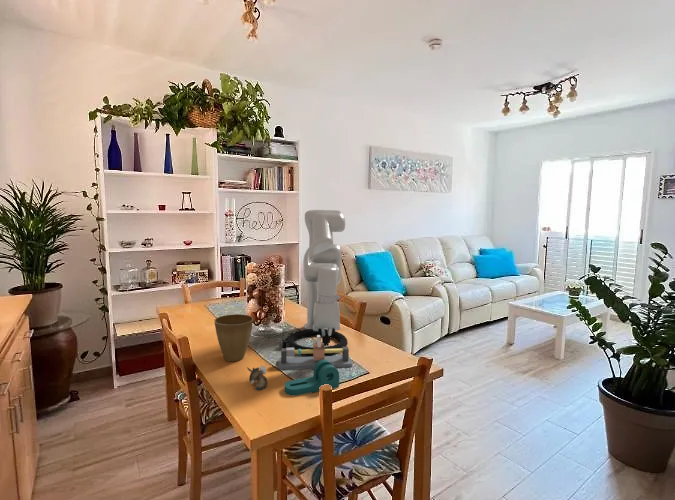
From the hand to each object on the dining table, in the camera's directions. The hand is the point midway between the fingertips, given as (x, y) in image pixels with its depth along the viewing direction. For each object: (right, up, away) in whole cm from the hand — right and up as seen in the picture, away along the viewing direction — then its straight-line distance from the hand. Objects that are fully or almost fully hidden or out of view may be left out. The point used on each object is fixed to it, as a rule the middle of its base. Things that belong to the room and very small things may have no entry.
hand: (326, 344), depth 147 cm
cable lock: (-6, -6, +20) cm, 22 cm away
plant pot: (-37, -7, +4) cm, 38 cm away
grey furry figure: (-23, -10, -18) cm, 31 cm away
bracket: (-5, -10, -19) cm, 22 cm away
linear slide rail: (-4, -8, 0) cm, 9 cm away
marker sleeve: (-3, -5, 0) cm, 6 cm away
